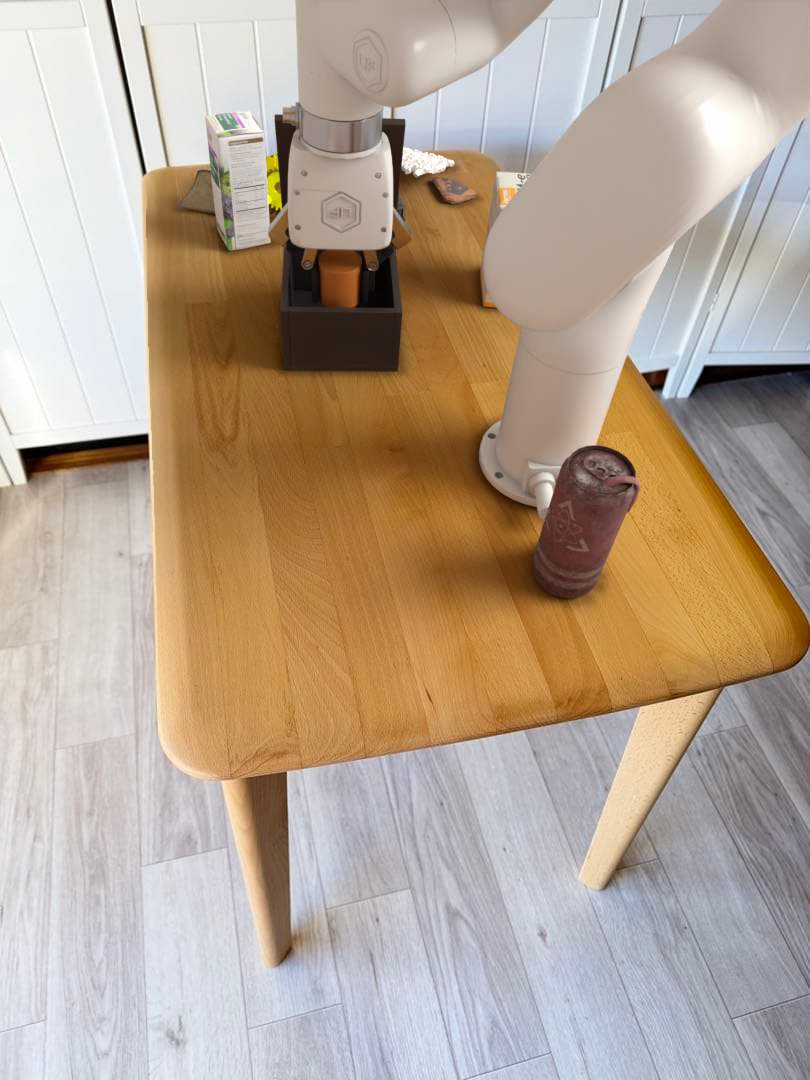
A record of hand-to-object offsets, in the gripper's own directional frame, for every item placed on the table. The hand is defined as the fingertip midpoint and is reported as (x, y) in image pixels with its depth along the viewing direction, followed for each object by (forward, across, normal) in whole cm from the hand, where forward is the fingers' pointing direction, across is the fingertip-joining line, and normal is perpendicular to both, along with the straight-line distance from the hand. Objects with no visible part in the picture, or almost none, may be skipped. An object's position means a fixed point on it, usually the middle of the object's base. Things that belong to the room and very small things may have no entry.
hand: (339, 294), depth 88 cm
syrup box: (+7, -12, +22) cm, 26 cm away
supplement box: (+7, +20, +11) cm, 24 cm away
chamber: (+7, 0, +3) cm, 7 cm away
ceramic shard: (+5, -16, +31) cm, 35 cm away
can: (+7, +20, -33) cm, 39 cm away
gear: (0, -4, +28) cm, 28 cm away
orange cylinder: (0, 0, 0) cm, 0 cm away
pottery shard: (+7, +19, +36) cm, 41 cm away
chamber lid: (-8, 0, +7) cm, 11 cm away
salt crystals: (+4, +5, +37) cm, 38 cm away
